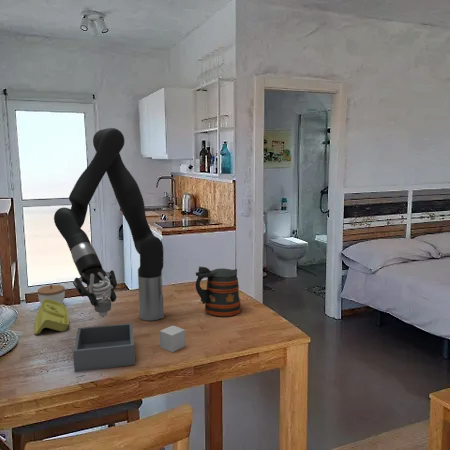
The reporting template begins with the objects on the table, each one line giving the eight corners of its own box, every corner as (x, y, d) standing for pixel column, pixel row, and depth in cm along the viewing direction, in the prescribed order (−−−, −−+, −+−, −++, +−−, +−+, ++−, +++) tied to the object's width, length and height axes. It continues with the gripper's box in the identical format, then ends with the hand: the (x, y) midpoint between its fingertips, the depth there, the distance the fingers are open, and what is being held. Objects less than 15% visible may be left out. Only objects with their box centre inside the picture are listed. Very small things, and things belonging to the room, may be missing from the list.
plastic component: (69, 325, 167) (42, 318, 162) (61, 343, 167) (34, 336, 163) (66, 304, 185) (42, 297, 180) (59, 320, 185) (34, 313, 181)
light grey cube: (160, 347, 154) (159, 330, 153) (173, 341, 158) (172, 325, 157) (172, 352, 150) (171, 335, 149) (185, 346, 155) (184, 329, 154)
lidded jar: (42, 312, 186) (41, 290, 184) (36, 305, 194) (34, 284, 192) (69, 307, 192) (67, 285, 190) (61, 300, 200) (60, 279, 199)
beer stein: (206, 322, 175) (205, 272, 171) (189, 310, 187) (188, 263, 184) (247, 313, 185) (247, 265, 181) (228, 302, 197) (228, 257, 193)
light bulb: (96, 313, 149) (94, 278, 146) (113, 313, 149) (112, 278, 147) (92, 320, 143) (90, 283, 141) (110, 320, 143) (109, 283, 141)
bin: (132, 340, 159) (132, 323, 158) (134, 364, 142) (134, 345, 141) (79, 346, 155) (77, 328, 154) (74, 371, 138) (73, 351, 137)
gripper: (68, 256, 143) (87, 302, 137) (109, 249, 153) (129, 292, 146) (61, 269, 148) (80, 314, 141) (102, 261, 157) (121, 303, 151)
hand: (105, 302), depth 144 cm, fingers closed on light bulb, 5 cm apart
